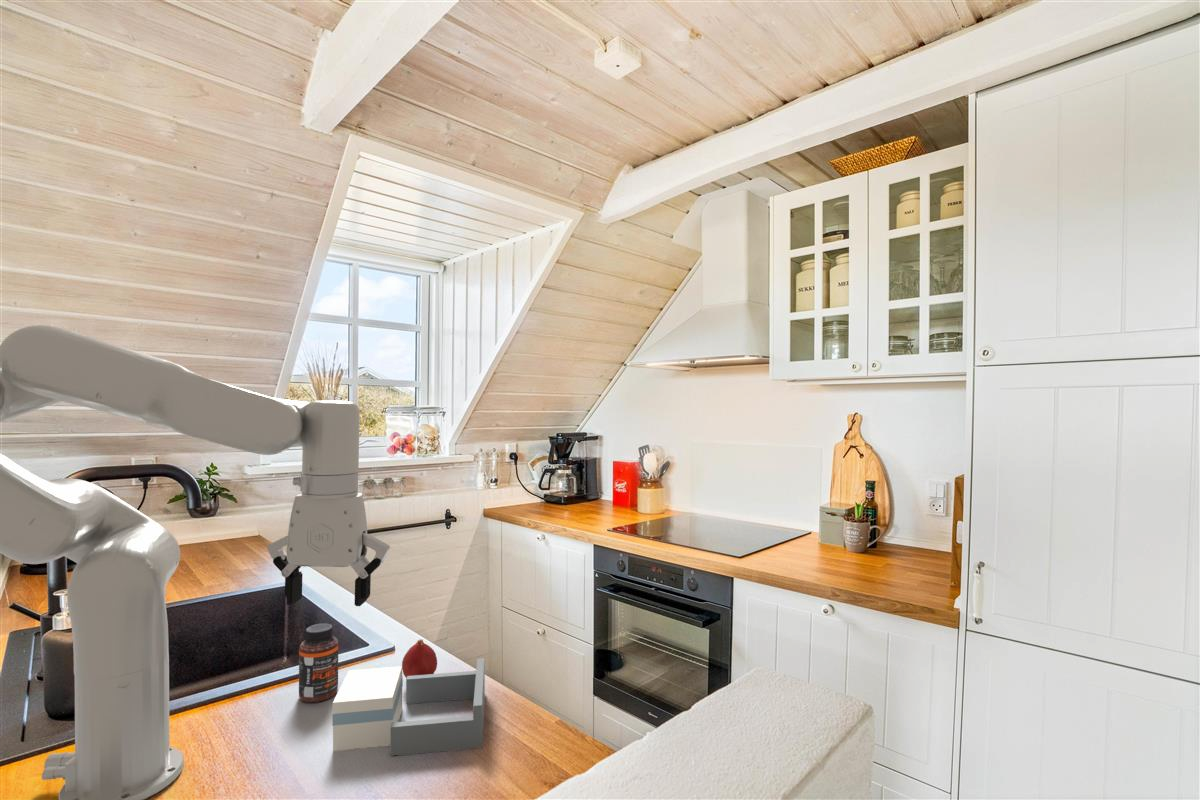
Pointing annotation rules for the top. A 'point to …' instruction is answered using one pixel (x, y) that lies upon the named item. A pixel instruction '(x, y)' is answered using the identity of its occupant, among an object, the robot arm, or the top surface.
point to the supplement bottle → (318, 664)
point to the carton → (367, 708)
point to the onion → (419, 660)
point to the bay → (444, 730)
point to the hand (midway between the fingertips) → (327, 602)
